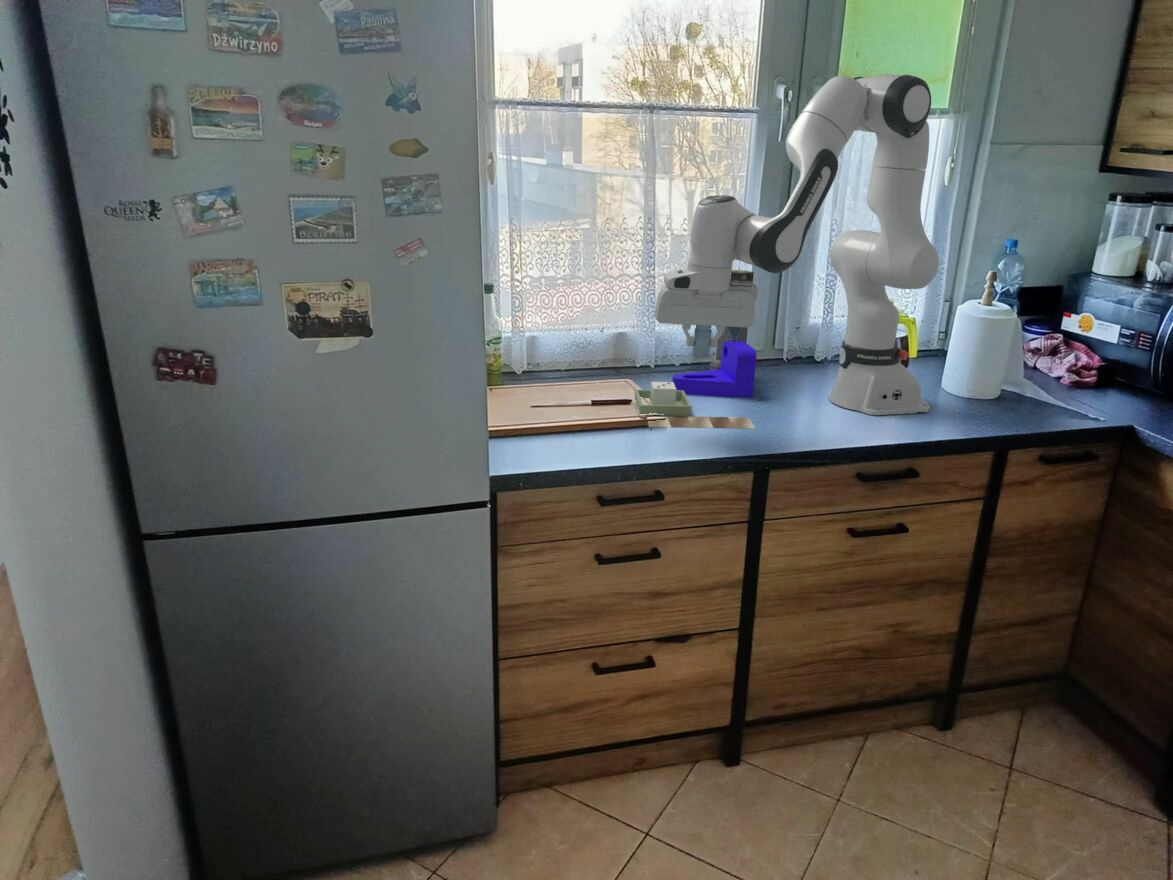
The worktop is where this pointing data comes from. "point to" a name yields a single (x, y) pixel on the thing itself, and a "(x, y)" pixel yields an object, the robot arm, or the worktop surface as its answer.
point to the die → (663, 393)
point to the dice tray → (679, 409)
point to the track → (703, 422)
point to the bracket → (723, 374)
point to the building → (732, 332)
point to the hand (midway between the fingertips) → (701, 346)
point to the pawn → (702, 341)
